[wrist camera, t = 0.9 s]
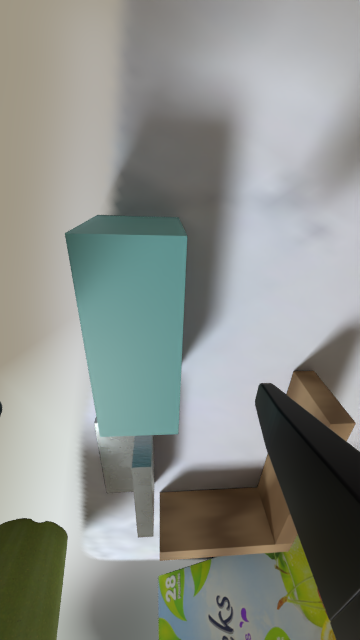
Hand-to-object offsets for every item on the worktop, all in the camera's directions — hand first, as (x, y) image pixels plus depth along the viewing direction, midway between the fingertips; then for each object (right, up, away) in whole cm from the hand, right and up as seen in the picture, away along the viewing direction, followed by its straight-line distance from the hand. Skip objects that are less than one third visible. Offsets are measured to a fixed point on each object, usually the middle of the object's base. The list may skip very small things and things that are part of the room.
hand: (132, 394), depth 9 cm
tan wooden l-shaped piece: (+4, -8, +13) cm, 16 cm away
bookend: (-3, -9, +12) cm, 15 cm away
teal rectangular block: (-1, +3, +6) cm, 7 cm away
